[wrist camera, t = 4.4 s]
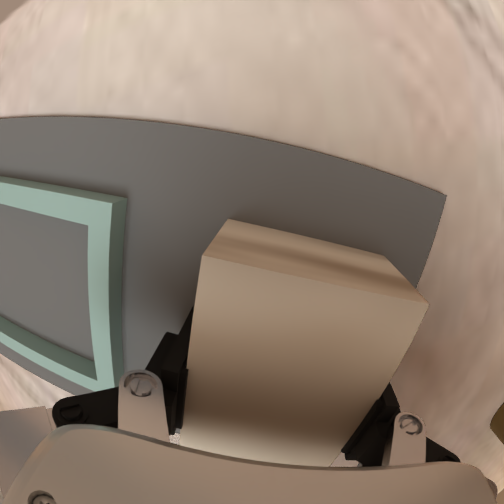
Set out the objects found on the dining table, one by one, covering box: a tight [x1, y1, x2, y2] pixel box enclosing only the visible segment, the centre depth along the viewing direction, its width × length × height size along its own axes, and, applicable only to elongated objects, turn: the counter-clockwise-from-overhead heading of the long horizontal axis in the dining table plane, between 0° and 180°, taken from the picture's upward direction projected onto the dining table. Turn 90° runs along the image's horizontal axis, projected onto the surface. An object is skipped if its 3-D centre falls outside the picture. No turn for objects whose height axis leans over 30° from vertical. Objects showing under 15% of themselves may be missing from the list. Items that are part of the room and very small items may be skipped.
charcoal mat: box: [0, 117, 447, 434], centre depth 12 cm, size 26×16×1 cm, turn 78°
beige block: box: [179, 219, 430, 467], centre depth 10 cm, size 10×6×4 cm, turn 168°
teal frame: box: [0, 176, 127, 392], centre depth 12 cm, size 14×10×1 cm
